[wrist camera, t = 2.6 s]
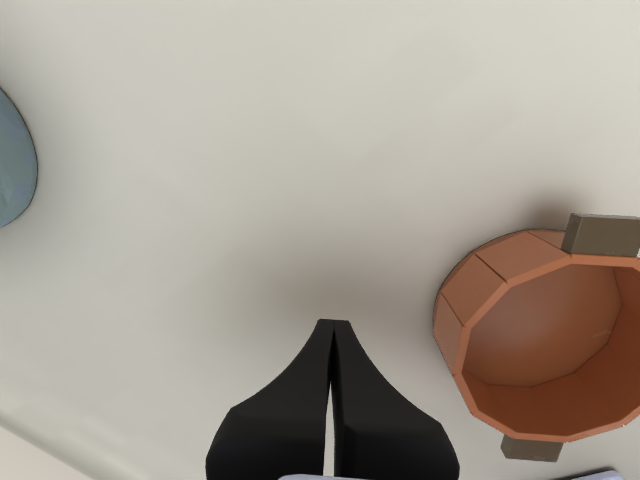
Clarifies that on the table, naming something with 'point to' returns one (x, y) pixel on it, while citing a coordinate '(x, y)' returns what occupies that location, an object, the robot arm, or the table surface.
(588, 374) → the pan
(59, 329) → the table surface
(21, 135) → the grey cylinder
